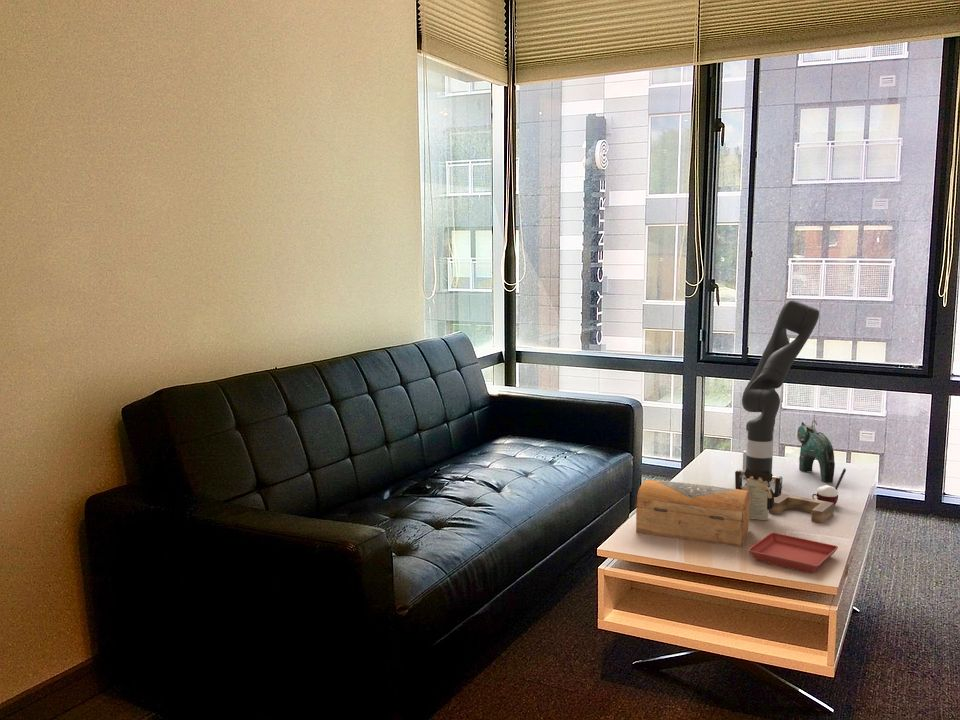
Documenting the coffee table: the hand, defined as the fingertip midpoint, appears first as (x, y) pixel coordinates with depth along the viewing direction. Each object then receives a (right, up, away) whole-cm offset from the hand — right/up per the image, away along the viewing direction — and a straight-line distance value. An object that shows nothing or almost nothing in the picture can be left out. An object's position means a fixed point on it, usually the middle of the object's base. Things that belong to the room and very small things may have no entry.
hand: (757, 506), depth 248 cm
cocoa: (+27, -2, +12) cm, 29 cm away
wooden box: (-22, -6, -11) cm, 25 cm away
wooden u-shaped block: (+15, -3, +5) cm, 16 cm away
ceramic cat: (+36, +3, +45) cm, 58 cm away
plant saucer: (-1, -9, -32) cm, 33 cm away
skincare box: (0, -4, +1) cm, 4 cm away
